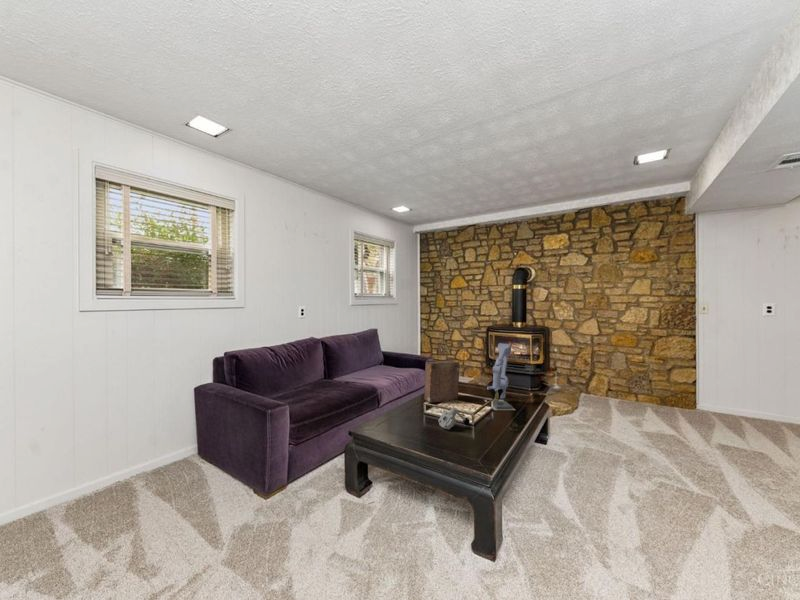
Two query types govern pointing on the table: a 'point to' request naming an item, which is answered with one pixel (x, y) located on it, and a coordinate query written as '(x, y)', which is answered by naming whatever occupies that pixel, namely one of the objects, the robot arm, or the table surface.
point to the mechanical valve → (450, 419)
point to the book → (441, 381)
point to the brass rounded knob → (496, 396)
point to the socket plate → (501, 405)
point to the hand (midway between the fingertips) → (496, 398)
